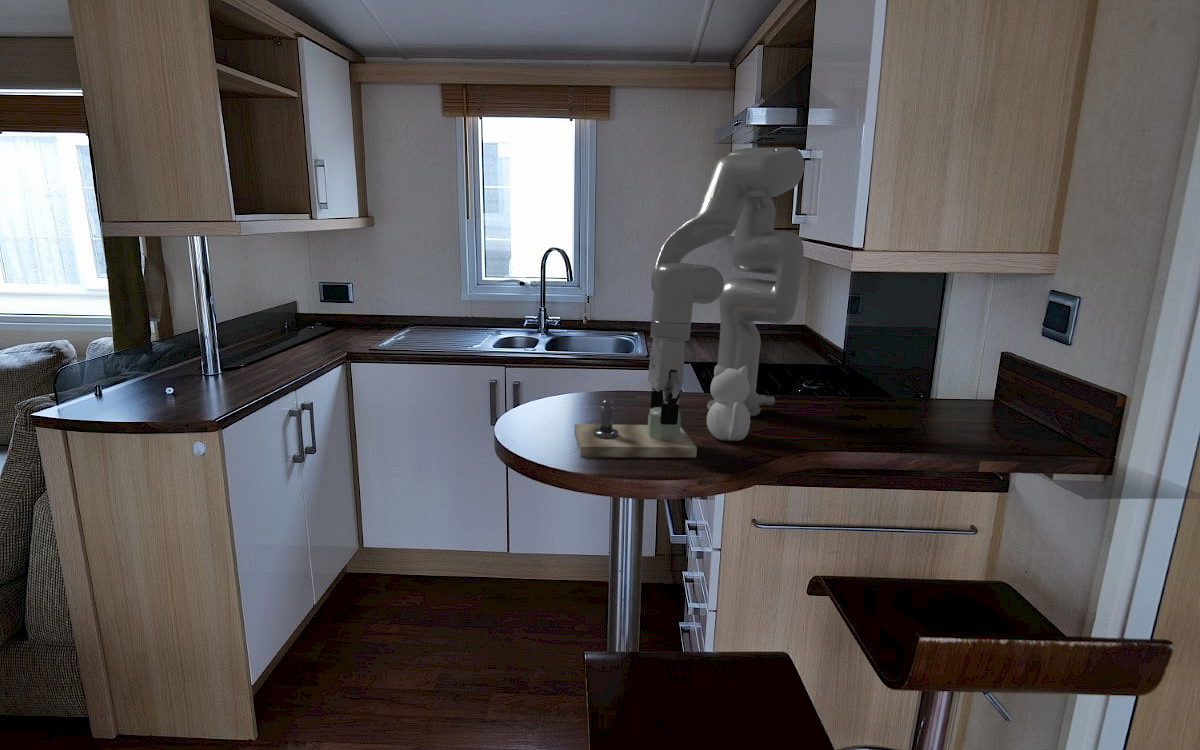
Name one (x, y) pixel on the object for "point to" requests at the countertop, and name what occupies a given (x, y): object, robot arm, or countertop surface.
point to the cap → (662, 426)
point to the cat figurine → (729, 404)
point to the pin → (606, 422)
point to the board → (631, 443)
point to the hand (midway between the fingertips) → (663, 417)
